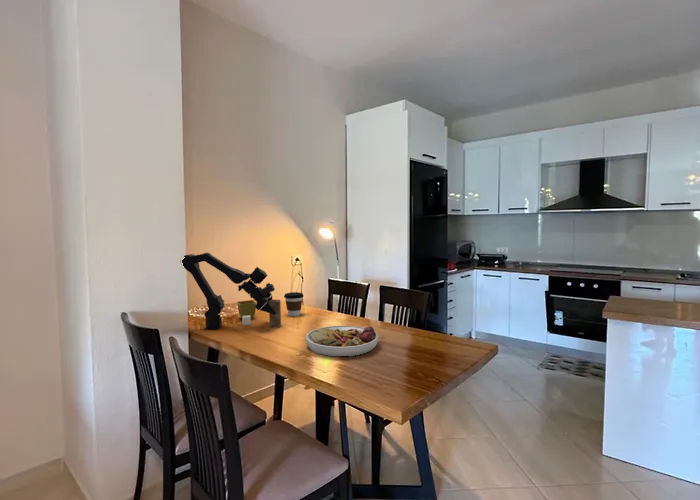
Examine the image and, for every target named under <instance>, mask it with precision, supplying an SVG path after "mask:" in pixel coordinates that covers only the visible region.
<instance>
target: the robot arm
mask: <svg viewBox="0 0 700 500" xmlns="http://www.w3.org/2000/svg"><path fill="white" fill-rule="evenodd" d="M183 256H184V257H185V258H184V259H183V260H182V263H183V266H184V267H183V266H182V267H183V268H184V270H186V271H187V272H189V274H191V276H192V277H193V279H194V281H195V282H196V284H197V286H198V287H199V290H201V292H202V294H203V296H204V297H205V299H206V305H207V308H208V309H207V310H206V311H205V312H204V313H203V314H204V317H205V327H204V330H218V329H220V328H221V327H222V326H223V323H222V317H221V312H222V311H223V309H224V308H225V300H224V299H223V298H222V295H221V294H219V295H217V294H215V292H214V289H212V287H211V285H210V284H209V282H208V280H207V279H206V277H205V275H204V273H203V272H202V271H201V267H200V263H202V262H205V263H207V264H209V265H210V266H211V267H214V268H215V269H216V270H218V271H220V272H221V273H223V274H224V275H225V276H226V277H227V278H228V279H229V280H230V281H231V282H232V283H234V284H235V285H238V286H237V287H238V291H237V292H240V291H242V290H243V291H244V292H246V293H247V295H249V297H250V298H251V299H252V300H253V301H254V302H256V309H257V311H261V312H264V313H265V312H266V313H268V314H269V313H271V314H274V315H275V314H276V312H275V311H274V310H273V308H272V307H271V306H270V305H269V301H270V300H273V294H272V292H274V291H275V290H276V288H275V286H274V284H273V283H270V282H268V283H266V285H265V287H263V288H262V287H260V286H259V287H258V285H260V284H261V283H262V282H263V281H264V280H265V279H266V278H267V277H268V274H267V272H266V271H265V270H263V269H261V268H259V267H258V266H257V267H255V268H254V270H253V271H252V272H251V273H245V272H244V271H242V270H241V269H238V268H235V267H231V266H229V265H228V264H226V263H225V262H223V261H221V260H220V259H218V258H217V257H215V256H214V255H212V254H211V253H210V252H204V253H201V254H193V253H191V254H186V255H183ZM248 279H249V280H248Z"/></svg>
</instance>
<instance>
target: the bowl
mask: <svg viewBox="0 0 700 500" xmlns="http://www.w3.org/2000/svg"><path fill="white" fill-rule="evenodd" d="M305 341H306V345H307V346H308V348H309V349H310V350H311V351H313V352H314V353H316V354H318V355H322V354H323V355H322V356H326V355H328V356H327V357H332V356H349V357H355V355H356V356H360V354H361V355H364V354H366V353H368V352H371V351H372V350H373V349H374V348H375V347H376V345H377V344H378V341H379V335H378V333H377V332H376V331H375V329H374V327H372V326H367V327H362V326H356V325H331V326H330V325H329V326H324V327H319V328H316V329H313V330H311V331H309V332H308V333H307V334H306V335H305Z"/></svg>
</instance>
